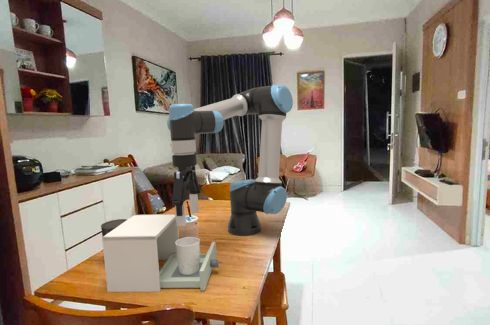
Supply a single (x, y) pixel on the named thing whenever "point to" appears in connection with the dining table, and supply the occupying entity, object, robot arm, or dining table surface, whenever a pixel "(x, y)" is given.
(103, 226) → the coffee can
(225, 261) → the dining table surface
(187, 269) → the white cup
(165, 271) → the tray
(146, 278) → the box
